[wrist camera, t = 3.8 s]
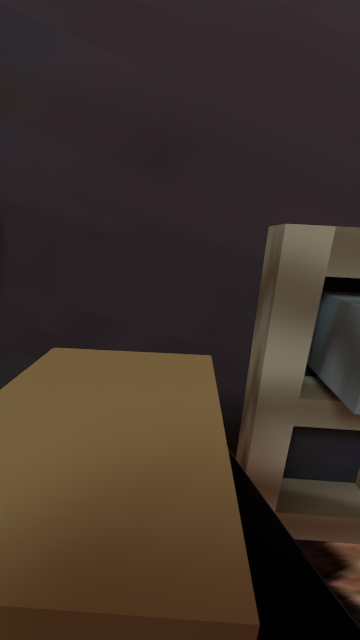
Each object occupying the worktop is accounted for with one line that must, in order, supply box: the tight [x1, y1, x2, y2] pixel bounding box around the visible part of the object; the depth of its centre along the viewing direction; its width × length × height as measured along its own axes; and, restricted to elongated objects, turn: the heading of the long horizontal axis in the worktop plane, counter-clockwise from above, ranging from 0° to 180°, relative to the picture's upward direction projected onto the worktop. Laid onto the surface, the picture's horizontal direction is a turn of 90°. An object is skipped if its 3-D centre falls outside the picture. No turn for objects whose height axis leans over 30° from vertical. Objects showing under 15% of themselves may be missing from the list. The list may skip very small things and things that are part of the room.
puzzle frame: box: [236, 224, 360, 544], centre depth 16 cm, size 22×12×6 cm, turn 177°
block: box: [0, 348, 260, 640], centre depth 6 cm, size 5×5×6 cm
